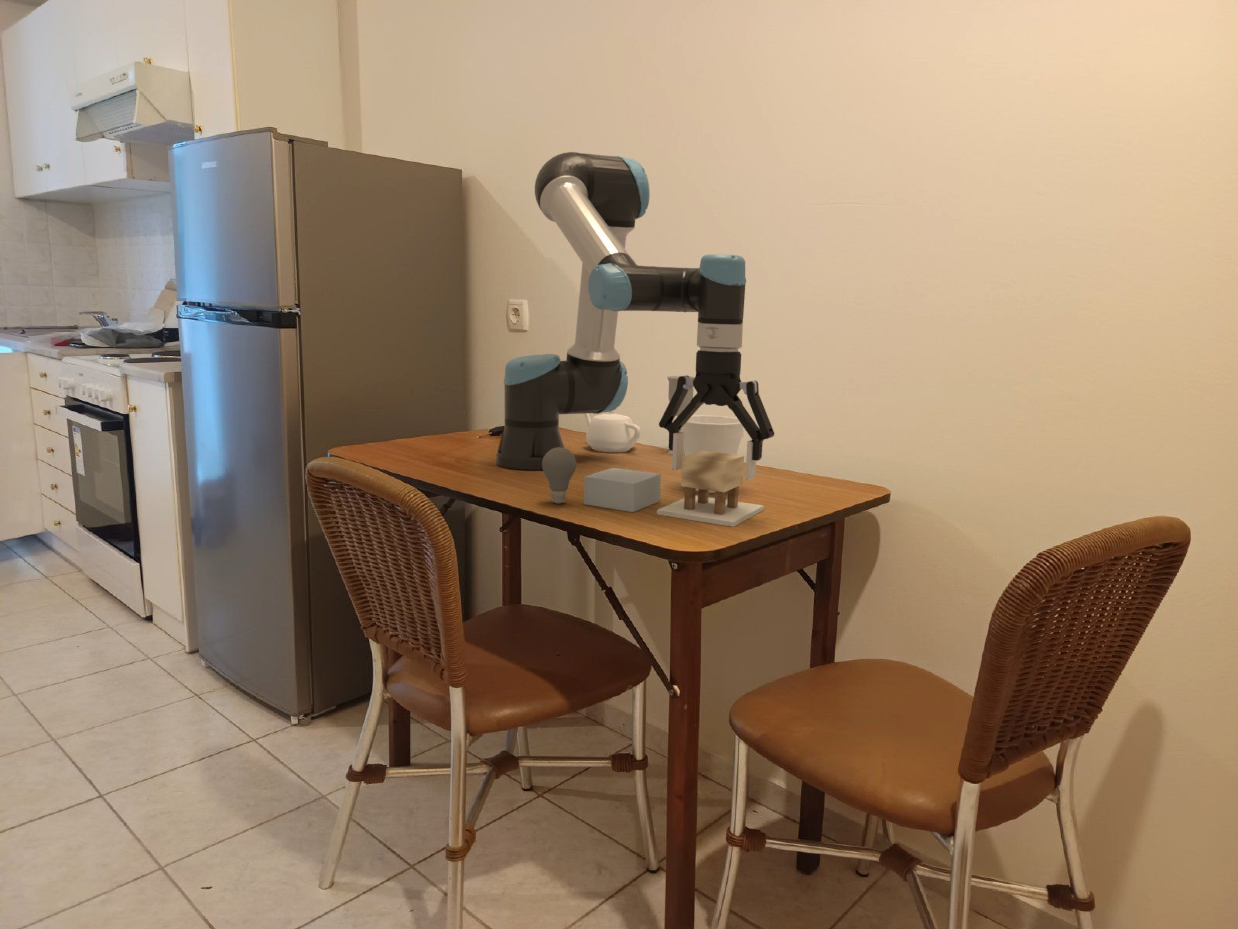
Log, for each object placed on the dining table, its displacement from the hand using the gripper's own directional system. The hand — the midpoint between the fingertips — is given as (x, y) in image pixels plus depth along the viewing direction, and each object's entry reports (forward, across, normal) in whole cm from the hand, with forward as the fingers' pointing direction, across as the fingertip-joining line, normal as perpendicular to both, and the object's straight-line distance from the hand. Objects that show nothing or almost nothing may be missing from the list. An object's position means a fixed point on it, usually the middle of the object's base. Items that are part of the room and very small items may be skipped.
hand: (712, 474), depth 150 cm
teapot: (+7, -46, +44) cm, 64 cm away
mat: (+7, 0, 0) cm, 7 cm away
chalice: (+7, -30, +49) cm, 58 cm away
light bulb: (+7, -25, -10) cm, 28 cm away
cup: (+7, -8, +17) cm, 20 cm away
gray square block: (+7, -16, -3) cm, 18 cm away
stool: (+6, 0, 0) cm, 6 cm away
